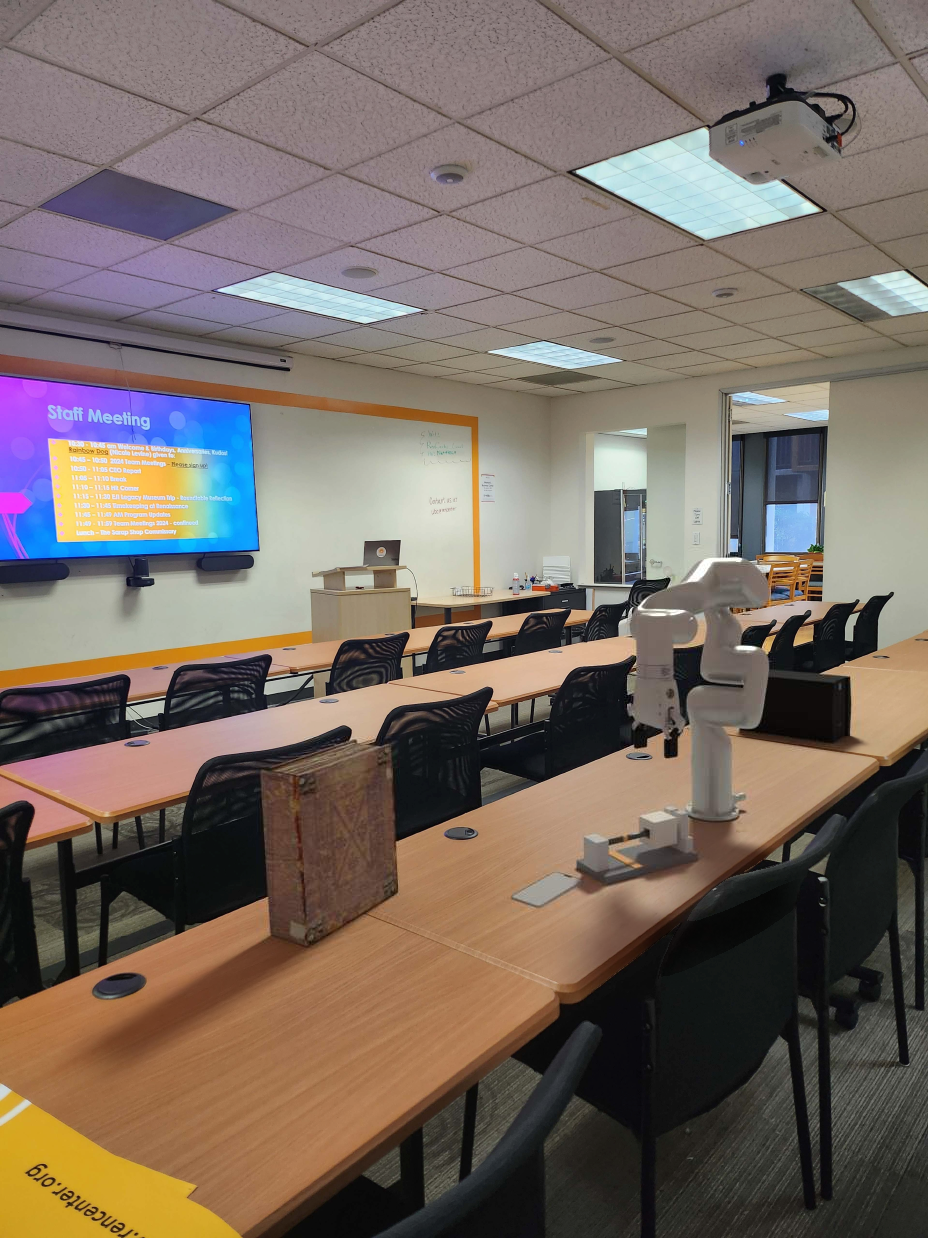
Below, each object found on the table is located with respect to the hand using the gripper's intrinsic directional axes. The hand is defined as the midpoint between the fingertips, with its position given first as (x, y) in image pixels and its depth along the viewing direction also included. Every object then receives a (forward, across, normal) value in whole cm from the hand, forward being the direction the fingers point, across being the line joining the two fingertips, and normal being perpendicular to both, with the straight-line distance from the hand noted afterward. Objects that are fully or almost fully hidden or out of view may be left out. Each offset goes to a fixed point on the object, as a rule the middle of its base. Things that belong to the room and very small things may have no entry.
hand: (655, 752), depth 169 cm
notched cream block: (+19, 0, 0) cm, 19 cm away
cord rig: (+23, 0, +5) cm, 23 cm away
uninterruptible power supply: (+21, +63, -110) cm, 129 cm away
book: (+24, +10, +67) cm, 72 cm away
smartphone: (+24, -1, +28) cm, 37 cm away
